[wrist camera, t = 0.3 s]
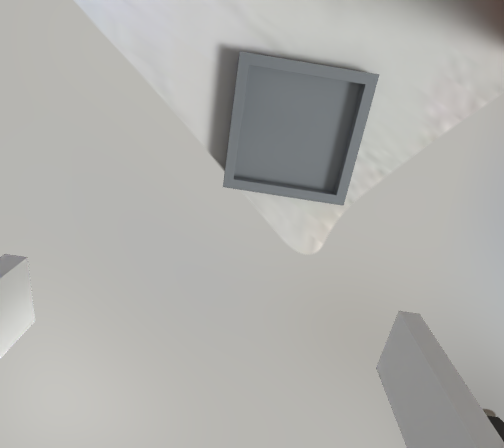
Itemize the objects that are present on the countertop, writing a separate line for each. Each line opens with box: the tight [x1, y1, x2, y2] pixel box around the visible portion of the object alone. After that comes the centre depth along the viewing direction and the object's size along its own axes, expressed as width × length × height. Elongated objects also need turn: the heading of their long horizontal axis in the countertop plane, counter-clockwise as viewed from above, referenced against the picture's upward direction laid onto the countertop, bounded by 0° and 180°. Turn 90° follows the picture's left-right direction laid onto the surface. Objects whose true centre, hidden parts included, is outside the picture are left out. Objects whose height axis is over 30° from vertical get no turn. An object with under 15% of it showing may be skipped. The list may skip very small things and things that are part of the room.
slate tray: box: [223, 51, 379, 205], centre depth 35 cm, size 13×13×2 cm
